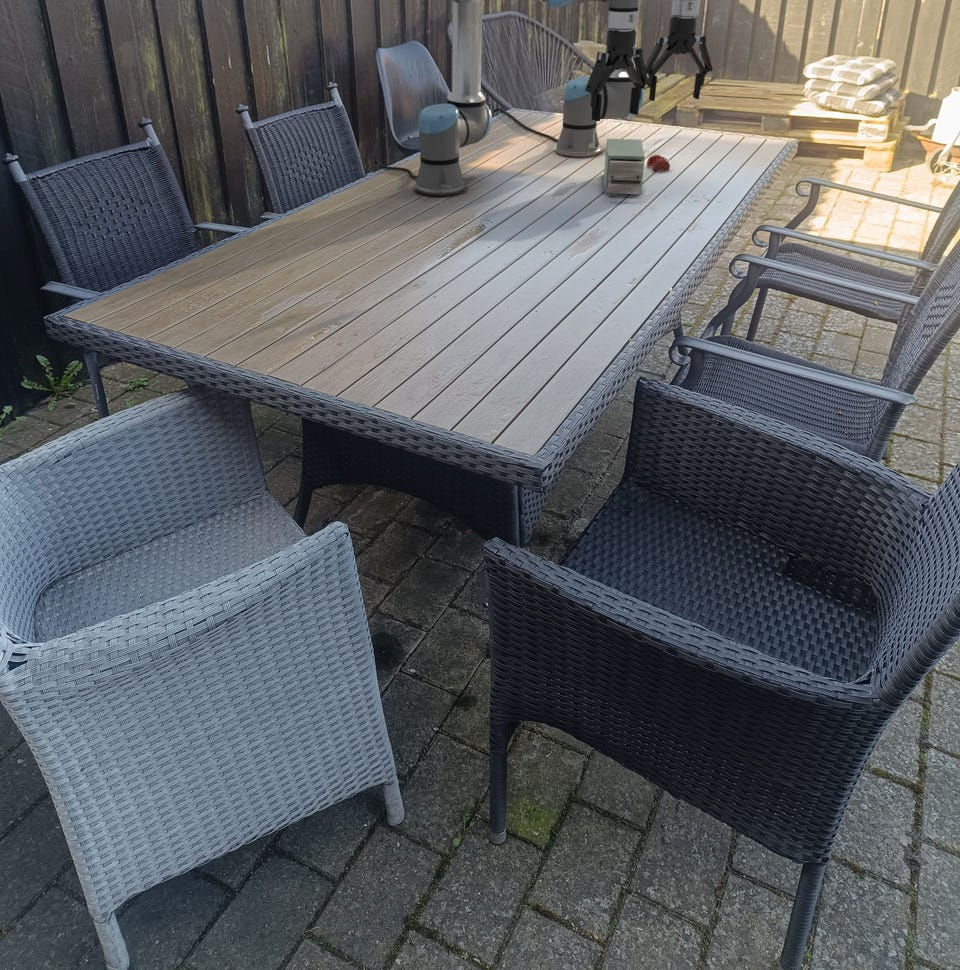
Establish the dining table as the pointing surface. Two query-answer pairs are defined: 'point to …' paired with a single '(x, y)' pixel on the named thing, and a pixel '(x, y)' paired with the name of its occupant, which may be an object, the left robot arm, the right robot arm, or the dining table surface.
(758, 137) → the dining table surface
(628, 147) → the cabinet
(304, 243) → the dining table surface
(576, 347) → the dining table surface
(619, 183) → the drawer
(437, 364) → the dining table surface
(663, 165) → the red-brown rounded lump
